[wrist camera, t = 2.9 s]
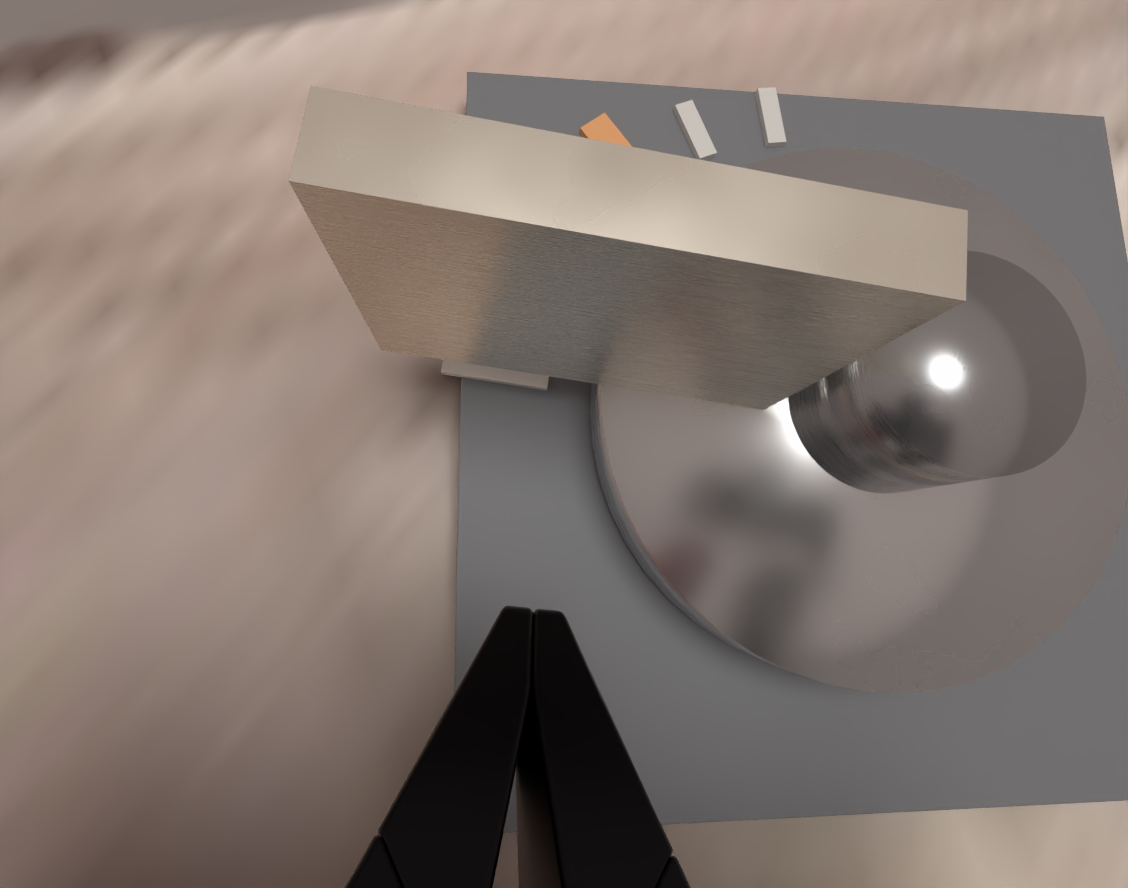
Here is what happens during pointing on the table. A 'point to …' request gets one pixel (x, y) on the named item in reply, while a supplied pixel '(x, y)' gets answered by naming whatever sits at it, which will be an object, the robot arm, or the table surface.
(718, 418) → the dial
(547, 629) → the robot arm
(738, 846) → the table surface
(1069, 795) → the panel
